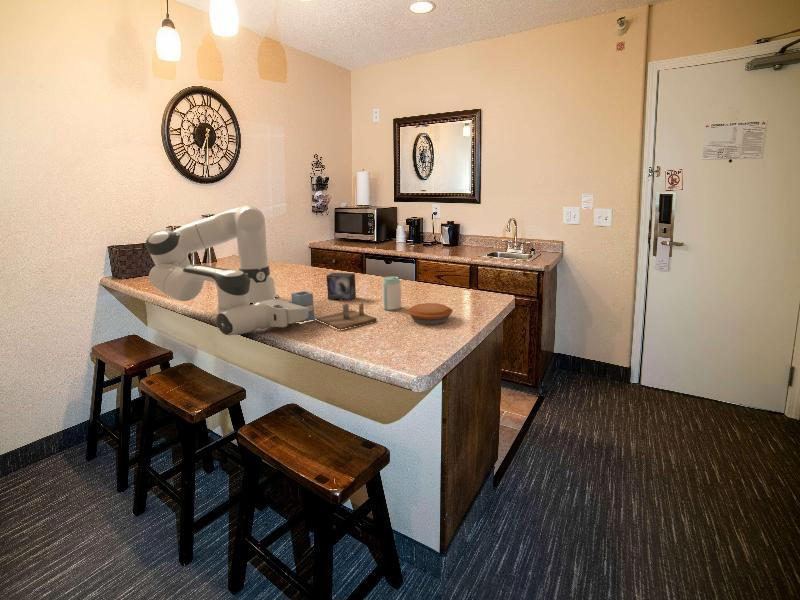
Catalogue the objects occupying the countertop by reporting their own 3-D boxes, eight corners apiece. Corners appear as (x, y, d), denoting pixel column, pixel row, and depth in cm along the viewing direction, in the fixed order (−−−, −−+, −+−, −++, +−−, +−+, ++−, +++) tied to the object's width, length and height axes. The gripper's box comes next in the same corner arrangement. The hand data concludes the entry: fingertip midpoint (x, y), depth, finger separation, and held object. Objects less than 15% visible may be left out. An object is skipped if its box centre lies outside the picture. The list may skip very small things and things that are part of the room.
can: (390, 305, 177) (389, 275, 174) (404, 307, 173) (404, 277, 170) (378, 309, 172) (377, 278, 169) (392, 312, 167) (392, 280, 164)
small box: (327, 300, 188) (325, 275, 185) (333, 296, 194) (332, 272, 191) (350, 301, 185) (349, 276, 182) (356, 297, 191) (355, 273, 188)
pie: (449, 313, 164) (449, 300, 163) (455, 326, 149) (455, 311, 148) (406, 314, 164) (406, 301, 163) (409, 328, 149) (408, 313, 148)
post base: (316, 321, 158) (315, 304, 156) (352, 313, 167) (351, 296, 166) (340, 331, 147) (338, 312, 145) (376, 321, 156) (376, 304, 155)
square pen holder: (289, 320, 160) (287, 293, 158) (308, 316, 165) (306, 290, 162) (299, 324, 155) (297, 297, 152) (318, 320, 159) (316, 293, 157)
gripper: (254, 316, 157) (289, 308, 167) (286, 328, 143) (321, 318, 153) (252, 299, 156) (287, 291, 165) (284, 309, 142) (320, 300, 151)
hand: (304, 305), depth 159 cm, fingers open, 8 cm apart
